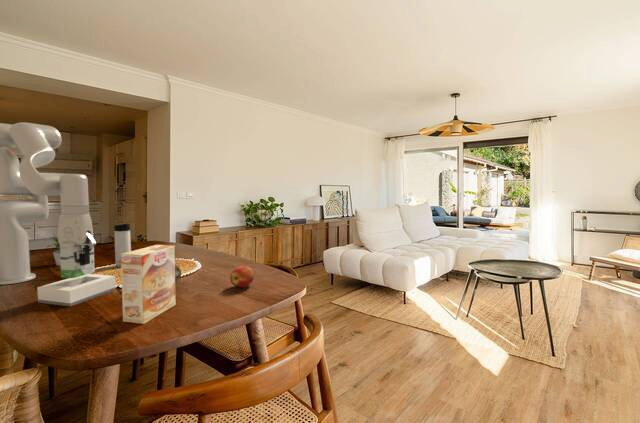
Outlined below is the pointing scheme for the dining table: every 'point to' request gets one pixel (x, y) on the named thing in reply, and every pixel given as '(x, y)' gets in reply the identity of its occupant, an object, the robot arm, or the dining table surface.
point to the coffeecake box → (147, 282)
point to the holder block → (76, 289)
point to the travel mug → (121, 241)
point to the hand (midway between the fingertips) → (78, 263)
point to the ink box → (74, 261)
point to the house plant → (56, 253)
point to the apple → (242, 276)
